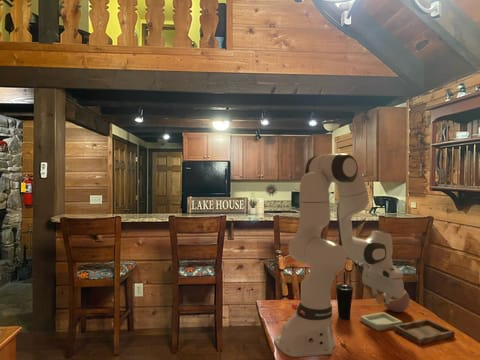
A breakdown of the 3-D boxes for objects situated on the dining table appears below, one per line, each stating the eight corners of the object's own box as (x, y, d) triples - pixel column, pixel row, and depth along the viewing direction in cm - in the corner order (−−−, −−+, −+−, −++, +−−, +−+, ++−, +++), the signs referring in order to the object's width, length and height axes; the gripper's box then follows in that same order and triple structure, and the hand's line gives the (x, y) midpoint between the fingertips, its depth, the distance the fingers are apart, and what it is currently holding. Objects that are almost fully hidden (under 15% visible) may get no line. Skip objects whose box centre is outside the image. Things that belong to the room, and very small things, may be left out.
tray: (377, 331, 128) (377, 326, 128) (360, 320, 137) (360, 316, 137) (402, 326, 132) (402, 321, 132) (383, 316, 142) (383, 312, 142)
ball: (389, 305, 134) (389, 295, 134) (381, 307, 132) (381, 296, 132) (381, 301, 138) (381, 291, 138) (373, 303, 136) (373, 293, 136)
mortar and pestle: (377, 305, 154) (377, 282, 154) (402, 306, 153) (402, 282, 154) (387, 316, 142) (387, 290, 142) (414, 316, 141) (414, 291, 142)
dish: (419, 345, 117) (419, 339, 117) (394, 330, 128) (394, 325, 128) (454, 337, 123) (454, 331, 123) (426, 324, 134) (427, 319, 134)
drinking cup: (354, 322, 136) (354, 275, 136) (336, 320, 138) (336, 274, 138) (352, 314, 143) (352, 270, 144) (334, 313, 145) (334, 269, 145)
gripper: (358, 263, 144) (358, 293, 144) (394, 275, 124) (394, 311, 124) (369, 261, 146) (369, 291, 146) (406, 274, 127) (406, 308, 127)
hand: (381, 300), depth 135 cm, fingers closed on ball, 4 cm apart
